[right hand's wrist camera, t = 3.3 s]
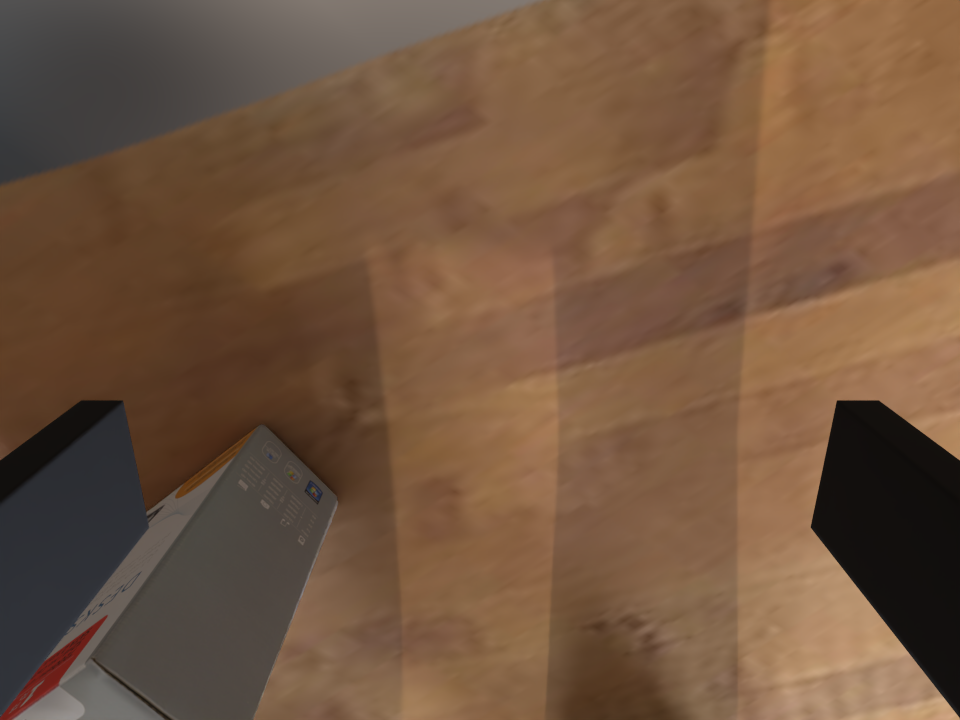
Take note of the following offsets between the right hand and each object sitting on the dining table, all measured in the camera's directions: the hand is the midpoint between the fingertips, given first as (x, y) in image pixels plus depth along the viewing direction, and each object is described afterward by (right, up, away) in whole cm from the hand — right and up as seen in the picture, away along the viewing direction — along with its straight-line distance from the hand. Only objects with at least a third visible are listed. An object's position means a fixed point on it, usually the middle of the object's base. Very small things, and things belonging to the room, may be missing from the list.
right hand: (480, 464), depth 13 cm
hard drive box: (-18, -9, +33) cm, 39 cm away
